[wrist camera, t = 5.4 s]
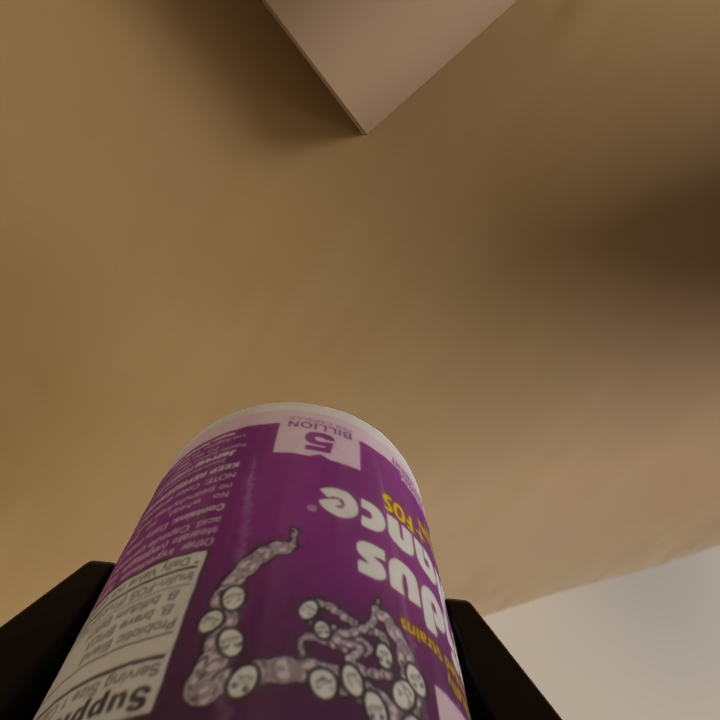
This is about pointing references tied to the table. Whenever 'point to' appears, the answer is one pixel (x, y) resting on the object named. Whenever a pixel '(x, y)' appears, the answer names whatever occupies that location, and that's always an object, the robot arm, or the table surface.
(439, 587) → the pill bottle
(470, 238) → the table surface
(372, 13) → the tan flat square block
